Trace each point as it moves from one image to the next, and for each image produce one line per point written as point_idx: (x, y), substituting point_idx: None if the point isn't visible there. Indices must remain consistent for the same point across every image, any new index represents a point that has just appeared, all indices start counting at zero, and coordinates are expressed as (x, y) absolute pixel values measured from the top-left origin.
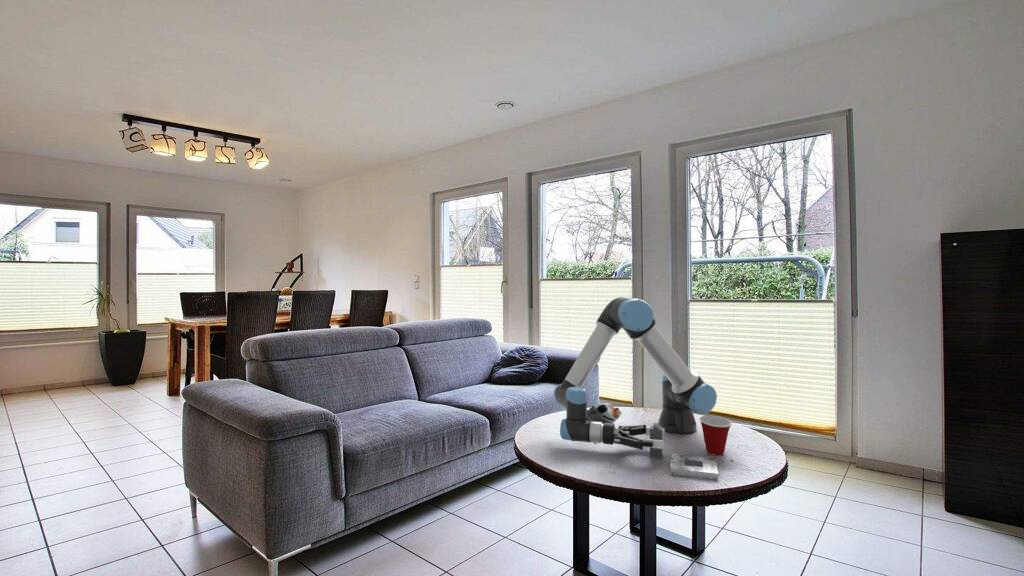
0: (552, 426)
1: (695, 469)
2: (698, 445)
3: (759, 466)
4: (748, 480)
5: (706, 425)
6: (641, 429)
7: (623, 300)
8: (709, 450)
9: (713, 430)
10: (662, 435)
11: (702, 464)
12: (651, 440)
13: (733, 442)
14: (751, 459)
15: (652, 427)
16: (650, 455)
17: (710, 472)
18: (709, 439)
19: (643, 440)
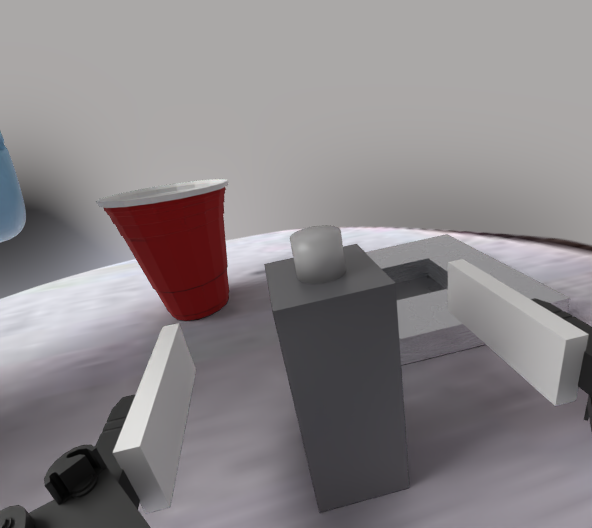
0: None
1: (474, 260)
2: (114, 354)
3: (279, 244)
4: (389, 233)
5: (207, 197)
6: (141, 521)
7: None
8: (219, 296)
9: (220, 207)
10: (191, 373)
11: (398, 266)
12: (521, 300)
13: (86, 302)
14: (234, 258)
15: (331, 286)
16: (405, 473)
17: (457, 241)
18: (216, 253)
19: (585, 345)
